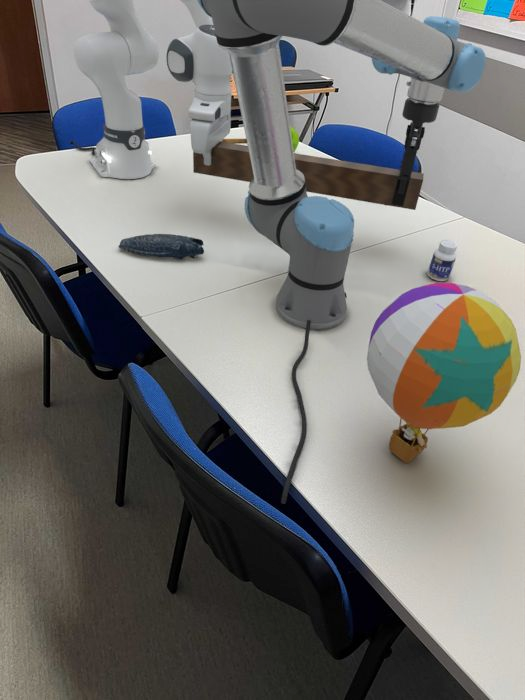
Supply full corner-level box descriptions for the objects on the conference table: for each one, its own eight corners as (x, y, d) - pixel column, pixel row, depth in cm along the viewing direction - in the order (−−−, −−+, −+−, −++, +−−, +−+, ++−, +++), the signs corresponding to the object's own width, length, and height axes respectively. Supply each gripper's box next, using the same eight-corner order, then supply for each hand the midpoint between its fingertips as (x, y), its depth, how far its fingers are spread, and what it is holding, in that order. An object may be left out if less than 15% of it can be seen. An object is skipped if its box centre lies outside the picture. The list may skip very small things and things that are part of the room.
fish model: (201, 265, 124) (201, 246, 121) (115, 255, 125) (113, 236, 122) (206, 252, 129) (206, 234, 126) (124, 243, 130) (122, 224, 127)
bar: (415, 203, 131) (423, 173, 126) (415, 210, 127) (423, 179, 123) (199, 167, 140) (199, 138, 135) (193, 172, 136) (193, 143, 132)
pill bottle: (425, 278, 127) (436, 245, 122) (428, 268, 131) (438, 236, 126) (447, 283, 126) (459, 250, 120) (449, 273, 130) (460, 241, 124)
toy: (317, 443, 83) (351, 282, 64) (393, 393, 94) (441, 242, 75) (417, 530, 72) (494, 366, 53) (490, 462, 83) (575, 305, 64)
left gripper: (214, 93, 135) (213, 147, 144) (185, 112, 120) (186, 171, 128) (237, 96, 134) (235, 150, 143) (211, 116, 119) (210, 175, 127)
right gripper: (407, 89, 122) (385, 185, 137) (404, 107, 109) (380, 212, 123) (440, 93, 121) (414, 190, 136) (440, 112, 107) (411, 217, 122)
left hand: (211, 160), depth 136 cm, fingers closed on bar, 5 cm apart
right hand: (398, 200), depth 129 cm, fingers closed on bar, 5 cm apart
